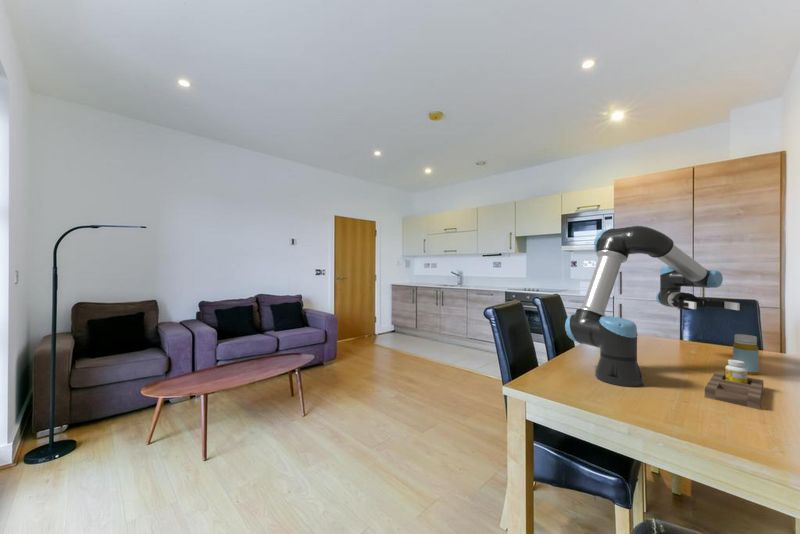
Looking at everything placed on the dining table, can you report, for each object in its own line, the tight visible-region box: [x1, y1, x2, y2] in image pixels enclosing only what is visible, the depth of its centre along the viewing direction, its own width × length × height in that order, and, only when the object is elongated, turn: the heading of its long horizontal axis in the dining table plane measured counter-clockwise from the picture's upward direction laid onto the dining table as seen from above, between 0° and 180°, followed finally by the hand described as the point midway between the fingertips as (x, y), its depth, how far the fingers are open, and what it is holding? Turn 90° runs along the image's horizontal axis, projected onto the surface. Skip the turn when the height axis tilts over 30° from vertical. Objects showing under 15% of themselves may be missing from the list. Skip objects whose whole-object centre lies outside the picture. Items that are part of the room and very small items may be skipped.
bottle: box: [732, 333, 760, 376], centre depth 129 cm, size 7×7×15 cm
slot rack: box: [704, 371, 764, 410], centre depth 108 cm, size 26×12×3 cm, turn 129°
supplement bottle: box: [724, 359, 748, 384], centre depth 112 cm, size 5×5×10 cm
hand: (716, 306), depth 121 cm, fingers open, 13 cm apart
